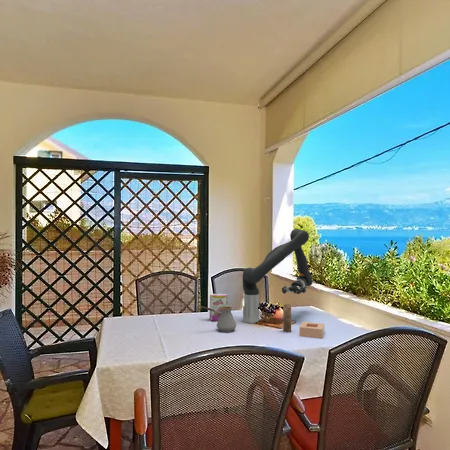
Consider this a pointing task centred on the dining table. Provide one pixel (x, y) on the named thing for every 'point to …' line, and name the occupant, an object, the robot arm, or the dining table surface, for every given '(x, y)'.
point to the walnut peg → (287, 318)
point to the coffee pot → (224, 319)
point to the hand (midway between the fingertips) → (290, 292)
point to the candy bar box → (217, 305)
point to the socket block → (311, 329)
